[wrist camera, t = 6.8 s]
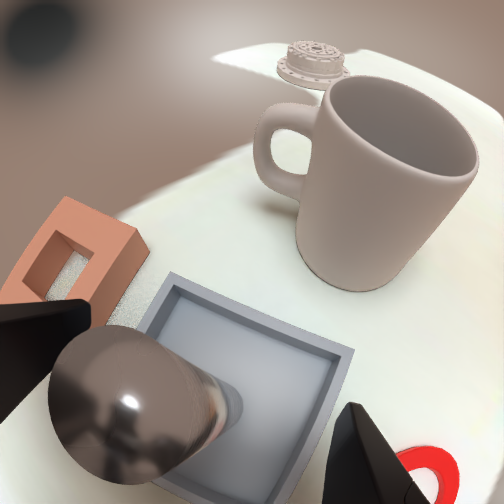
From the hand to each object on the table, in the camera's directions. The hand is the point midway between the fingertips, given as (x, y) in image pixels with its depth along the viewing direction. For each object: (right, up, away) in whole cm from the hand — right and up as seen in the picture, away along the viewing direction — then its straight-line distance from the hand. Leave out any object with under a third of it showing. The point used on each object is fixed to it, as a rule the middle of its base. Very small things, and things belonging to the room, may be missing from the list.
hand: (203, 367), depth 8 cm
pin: (-1, -5, +6) cm, 8 cm away
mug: (+7, +5, +13) cm, 16 cm away
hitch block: (-11, +1, +10) cm, 15 cm away
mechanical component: (+10, +27, +26) cm, 39 cm away
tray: (0, -5, +7) cm, 9 cm away
